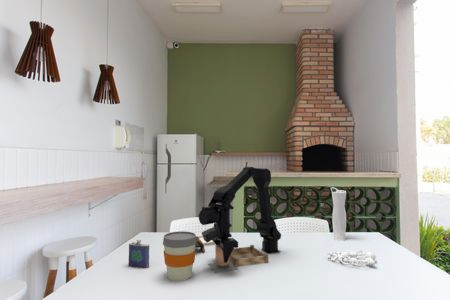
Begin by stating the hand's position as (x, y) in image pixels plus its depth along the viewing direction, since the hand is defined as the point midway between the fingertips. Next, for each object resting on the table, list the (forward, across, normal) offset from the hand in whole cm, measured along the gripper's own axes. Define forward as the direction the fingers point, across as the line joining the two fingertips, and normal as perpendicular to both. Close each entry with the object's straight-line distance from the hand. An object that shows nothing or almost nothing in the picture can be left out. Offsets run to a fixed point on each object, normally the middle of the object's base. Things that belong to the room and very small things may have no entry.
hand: (222, 259), depth 117 cm
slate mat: (+3, 0, 0) cm, 3 cm away
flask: (+3, -13, -32) cm, 35 cm away
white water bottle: (+3, -16, +73) cm, 75 cm away
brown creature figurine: (+3, -23, -6) cm, 24 cm away
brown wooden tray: (+3, -5, +12) cm, 13 cm away
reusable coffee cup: (+3, +2, -18) cm, 18 cm away
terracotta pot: (+1, 0, 0) cm, 1 cm away
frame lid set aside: (+3, -37, +6) cm, 38 cm away
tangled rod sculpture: (+4, +14, +53) cm, 55 cm away
